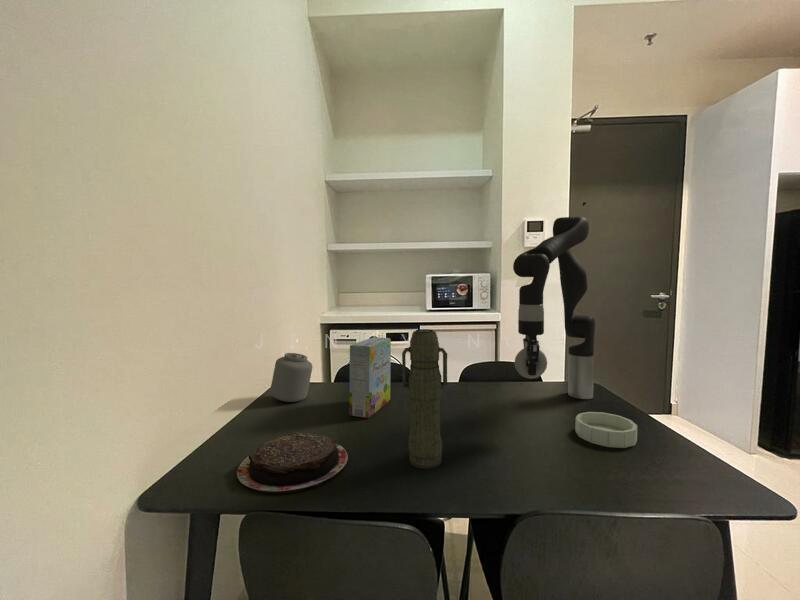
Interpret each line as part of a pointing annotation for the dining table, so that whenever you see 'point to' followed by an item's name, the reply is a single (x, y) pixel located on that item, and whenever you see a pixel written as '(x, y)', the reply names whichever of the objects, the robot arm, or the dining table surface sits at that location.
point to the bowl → (606, 429)
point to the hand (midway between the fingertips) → (530, 373)
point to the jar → (291, 377)
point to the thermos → (424, 398)
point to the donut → (523, 369)
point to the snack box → (369, 376)
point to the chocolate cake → (292, 463)
